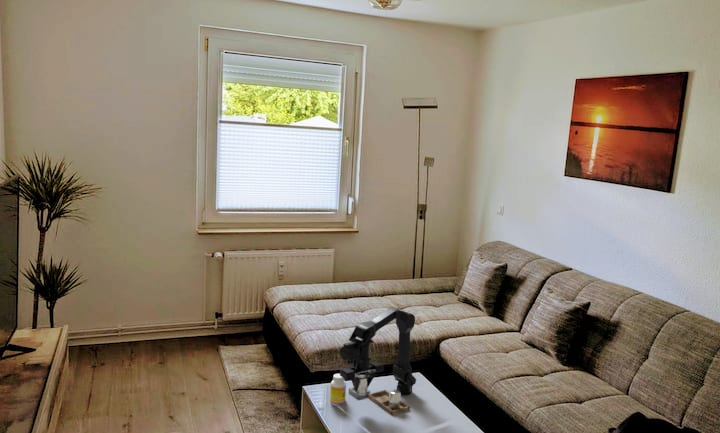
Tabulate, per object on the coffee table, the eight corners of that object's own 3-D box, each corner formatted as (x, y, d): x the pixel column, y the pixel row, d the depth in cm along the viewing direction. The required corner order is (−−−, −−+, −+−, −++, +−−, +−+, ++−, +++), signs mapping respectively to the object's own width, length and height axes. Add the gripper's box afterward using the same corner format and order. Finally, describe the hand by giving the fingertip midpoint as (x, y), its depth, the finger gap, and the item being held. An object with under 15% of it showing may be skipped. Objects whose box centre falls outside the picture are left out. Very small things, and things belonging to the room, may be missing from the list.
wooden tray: (384, 395, 258) (384, 389, 258) (409, 412, 243) (409, 406, 243) (367, 399, 253) (367, 394, 252) (391, 417, 238) (392, 411, 237)
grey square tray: (361, 391, 261) (361, 385, 260) (369, 397, 255) (370, 391, 255) (348, 394, 257) (348, 388, 257) (356, 401, 251) (357, 394, 251)
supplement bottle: (343, 407, 245) (344, 379, 243) (328, 405, 246) (329, 378, 244) (346, 400, 251) (347, 373, 249) (332, 398, 253) (333, 371, 251)
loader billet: (395, 403, 248) (396, 388, 246) (402, 408, 243) (403, 393, 242) (386, 406, 245) (386, 391, 244) (393, 411, 241) (393, 396, 240)
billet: (362, 389, 243) (363, 373, 242) (369, 393, 239) (369, 378, 238) (352, 391, 240) (353, 376, 239) (359, 396, 236) (360, 380, 235)
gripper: (370, 344, 249) (368, 377, 251) (333, 351, 238) (332, 386, 241) (384, 352, 240) (383, 387, 242) (347, 361, 229) (346, 397, 232)
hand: (361, 389), depth 239 cm, fingers closed on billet, 5 cm apart
